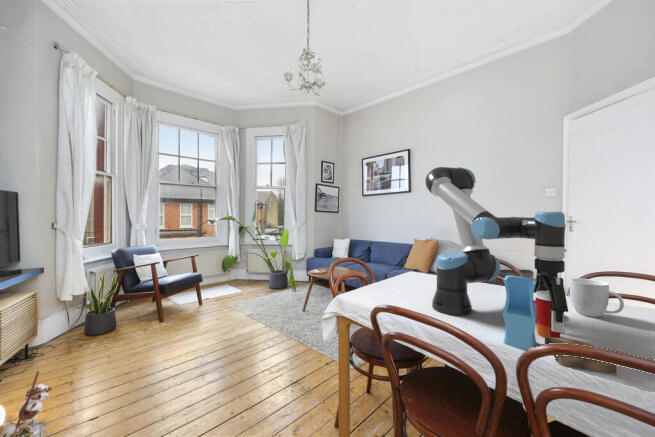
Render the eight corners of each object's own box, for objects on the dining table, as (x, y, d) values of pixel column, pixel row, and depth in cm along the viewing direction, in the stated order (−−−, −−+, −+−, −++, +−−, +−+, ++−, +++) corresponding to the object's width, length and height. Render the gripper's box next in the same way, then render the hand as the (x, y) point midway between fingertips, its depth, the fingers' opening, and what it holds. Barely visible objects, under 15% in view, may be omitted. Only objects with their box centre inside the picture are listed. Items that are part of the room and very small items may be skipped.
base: (560, 364, 69) (561, 353, 69) (544, 345, 80) (544, 335, 80) (616, 374, 65) (616, 362, 65) (591, 352, 76) (591, 342, 75)
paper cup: (561, 334, 87) (562, 292, 87) (567, 344, 80) (567, 298, 80) (531, 328, 91) (532, 288, 91) (534, 337, 85) (535, 294, 84)
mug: (626, 318, 99) (627, 284, 99) (620, 325, 93) (621, 289, 93) (574, 307, 111) (574, 276, 111) (565, 312, 105) (566, 280, 105)
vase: (502, 343, 81) (502, 279, 80) (506, 334, 87) (506, 274, 86) (534, 352, 76) (535, 284, 75) (536, 342, 82) (537, 278, 81)
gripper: (584, 266, 72) (583, 342, 73) (548, 253, 95) (547, 311, 96) (550, 264, 75) (549, 337, 76) (523, 252, 98) (522, 308, 99)
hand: (548, 323), depth 86 cm, fingers open, 13 cm apart
